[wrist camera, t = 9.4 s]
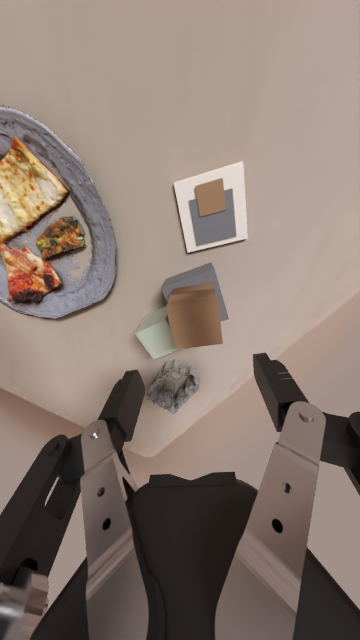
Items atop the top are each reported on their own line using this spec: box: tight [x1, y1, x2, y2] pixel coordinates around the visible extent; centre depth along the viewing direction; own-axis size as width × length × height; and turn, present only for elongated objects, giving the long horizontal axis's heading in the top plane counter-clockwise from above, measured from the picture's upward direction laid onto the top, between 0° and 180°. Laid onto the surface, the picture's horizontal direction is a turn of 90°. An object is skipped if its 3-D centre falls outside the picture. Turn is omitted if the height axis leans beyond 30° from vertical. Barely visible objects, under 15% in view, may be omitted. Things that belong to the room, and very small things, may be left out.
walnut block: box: [166, 282, 223, 349], centre depth 20 cm, size 5×5×6 cm
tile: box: [174, 161, 248, 253], centre depth 22 cm, size 8×8×1 cm
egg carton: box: [146, 359, 200, 414], centre depth 35 cm, size 11×8×4 cm
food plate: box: [0, 105, 116, 319], centre depth 24 cm, size 25×23×4 cm
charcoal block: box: [161, 263, 229, 321], centre depth 25 cm, size 7×7×5 cm
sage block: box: [135, 306, 182, 359], centre depth 27 cm, size 5×5×6 cm
